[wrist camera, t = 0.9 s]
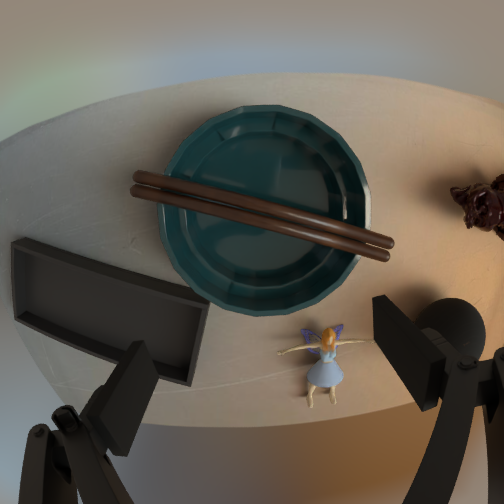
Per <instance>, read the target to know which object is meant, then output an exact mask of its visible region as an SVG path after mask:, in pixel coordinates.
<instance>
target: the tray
mask: <svg viewBox="0 0 504 504" xmlns="http://www.w3.org/2000/svg"><path fill="white" fill-rule="evenodd" d="M11 280H12V297H13V309H14V318H15V320H16V321H18V322H20V323H22V324H24V325H26V326H28V327H30V328H32V329H34V330H36V331H38V332H40V333H42V334H44V335H46V336H48V337H50V338H53V339H55V340H57V341H59V342H61V343H64V344H66V345H68V346H71V347H73V348H75V349H78V350H80V351H83V352H85V353H88V354H90V355H93V356H95V357H98V358H100V359H103V360H106V361H109V362H111V363H114V364H118V363H119V361H120V360H121V358H122V357H123V355H124V354H125V352H126V350H127V349H128V347H129V346H130V344H131V343H132V341H139V340H144V342H145V344H146V347H147V349H148V352H149V354H150V356H151V359H152V361H153V364H154V366H155V368H156V371H157V373H158V375H159V378H160V379H163V380H167V381H170V382H174V383H177V384H181V385H185V386H189V387H191V384H192V380H193V377H194V373H195V368H196V364H197V359H198V355H199V350H200V346H201V341H202V337H203V332H204V328H205V323H206V319H207V315H208V310H209V306H210V301H209V300H207V299H205V298H204V297H202V296H200V295H199V294H197V293H196V292H194V290H193V289H192V288H188V287H184V286H181V285H177V284H173V283H170V282H166V281H163V280H159V279H155V278H152V277H148V276H145V275H141V274H138V273H135V272H131V271H128V270H124V269H121V268H118V267H114V266H111V265H108V264H105V263H101V262H98V261H95V260H92V259H89V258H85V257H82V256H79V255H76V254H73V253H70V252H67V251H64V250H61V249H58V248H55V247H52V246H49V245H46V244H43V243H40V242H37V241H35V240H32V239H29V238H26V237H25V238H22V239H19V240H16V241H13V242H11Z"/></svg>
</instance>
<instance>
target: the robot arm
mask: <svg viewBox="0 0 504 504" xmlns="http://www.w3.org/2000/svg"><path fill="white" fill-rule="evenodd" d="M372 303H373V329H374V340H375V342H376V343H377V345H378V346H379V348H380V349H381V350H382V352H383V353H384V355H385V356H386V358H387V359H388V361H389V362H390V364H391V365H392V367H393V368H394V370H395V371H396V373H397V374H398V376H399V377H400V379H401V380H402V382H403V383H404V385H405V386H406V388H407V389H408V391H409V392H410V394H411V395H412V397H413V398H414V400H415V402H416V403H417V405H418V406H419V408H420V409H421V411H422V412H424V411H426V410H429V409H431V408H433V407H436V406H437V403H438V399H439V397H440V398H441V399H442V404H441V408H440V411H439V414H438V417H437V421H436V424H435V427H434V430H433V433H432V435H431V438H430V441H429V444H428V446H427V449H426V452H425V454H424V457H423V459H422V462H421V464H420V467H419V469H418V472H417V474H416V476H415V478H414V480H413V483H412V485H411V487H410V489H409V491H408V493H407V495H406V497H405V499H404V501H403V503H402V504H448V502H449V500H450V497H451V494H452V492H453V489H454V486H455V483H456V480H457V477H458V474H459V471H460V467H461V464H462V460H463V457H464V453H465V450H466V446H467V441H468V437H469V433H470V428H471V423H472V418H473V413H474V408H475V407H477V406H482V408H483V416H484V424H485V433H486V444H487V457H488V504H504V347H502V348H499V349H498V350H496V352H495V353H494V357H493V359H489V360H484V361H479V360H478V359H477V358H475V357H474V356H471V355H461V354H460V353H459V352H458V351H457V350H456V349H455V348H454V347H453V346H452V345H451V344H450V343H449V342H447V340H446V339H445V338H444V337H442V336H441V335H440V334H439V333H438V332H437V331H435V330H433V329H431V328H426V329H423V330H420V329H419V328H418V327H417V326H416V325H415V324H414V323H413V322H412V321H411V320H410V319H409V318H408V317H407V316H406V315H405V314H404V313H403V312H402V311H401V310H400V309H399V308H398V307H397V306H396V305H395V304H394V303H393V302H392V301H391V300H390V299H389V298H388V297H387V296H386V295H385V294H384V295H381V296H377V297H373V298H372ZM158 379H159V375H158V373H157V371H156V368H155V366H154V364H153V361H152V359H151V356H150V354H149V352H148V349H147V347H146V344H145V342H144V340H139V341H132V343H131V344H130V346H129V347H128V349H127V350H126V352H125V354H124V355H123V357H122V358H121V360H120V361H119V363H118V364H117V366H116V367H115V369H114V370H113V372H112V374H111V375H110V377H109V378H108V380H107V381H106V383H105V385H101V386H100V387H99V388H98V389H96V390H95V391H94V393H93V394H92V396H91V398H90V399H89V401H88V403H87V404H86V405H85V407H84V409H83V410H82V412H81V413H80V415H78V414H77V412H76V410H75V409H74V407H73V406H70V405H65V406H61V407H60V408H58V409H56V410H55V411H54V412H53V414H52V420H53V422H54V423H55V425H56V426H57V427H58V429H59V430H54V431H51V430H50V429H49V427H48V426H47V425H46V424H38V425H35V426H33V427H32V429H31V430H30V431H29V434H28V438H27V443H26V449H25V454H24V460H23V467H22V474H21V482H20V491H19V503H18V504H78V496H77V489H78V491H79V494H80V497H81V499H82V502H83V504H134V502H133V501H132V499H131V497H130V496H129V494H128V492H127V491H126V489H125V487H124V485H123V484H122V482H121V480H120V478H119V476H118V474H117V473H116V471H115V469H114V467H113V465H112V463H111V461H110V459H109V457H108V456H107V454H106V451H107V449H108V448H109V449H110V451H111V452H112V454H113V455H115V456H125V457H127V456H128V453H129V451H130V448H131V445H132V443H133V441H134V438H135V435H136V433H137V430H138V428H139V425H140V423H141V421H142V418H143V416H144V413H145V411H146V408H147V406H148V403H149V401H150V398H151V396H152V394H153V391H154V389H155V386H156V384H157V382H158Z"/></svg>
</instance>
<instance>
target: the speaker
mask: <svg viewBox="0 0 504 504" xmlns="http://www.w3.org/2000/svg"><path fill="white" fill-rule="evenodd" d="M414 324H415V325H416V326H417V327H418V328H419V329H420V330H423V329H426V328H431V329H433V330H435V331H437V332H438V333H439V334H440V335H441V336H442V337H444V338H445V339H446V340H447V342H449V343H450V344H451V345H452V346H453V347H454V348H455V349H456V350H457V351H458V352H459V353H460V354H461V355H471V356H474V357H475V358H477V359H478V360H479V358H480V356H481V354H482V352H483V349H484V345H485V338H486V332H485V326H484V322H483V319H482V317H481V315H480V313H479V312H478V311H477V309H476V308H475V307H474V306H472V305H471V304H470V303H468V302H466V301H464V300H462V299H458V298H445V299H441V300H438V301H436V302H434V303H432V304H431V305H429V306H428V307H427V308H425V309H424V310H423V311H422V313H421V314H420V315H419V316H418V318H417V320H416V321H415V323H414Z"/></svg>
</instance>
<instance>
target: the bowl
mask: <svg viewBox="0 0 504 504" xmlns="http://www.w3.org/2000/svg"><path fill="white" fill-rule="evenodd" d="M164 175H165V176H170V177H174V178H179V179H183V180H188V181H192V182H196V183H201V184H205V185H209V186H213V187H217V188H221V189H225V190H229V191H233V192H237V193H241V194H245V195H249V196H253V197H257V198H260V199H264V200H268V201H271V202H275V203H279V204H282V205H286V206H290V207H293V208H297V209H300V210H304V211H307V212H311V213H314V214H318V215H321V216H324V217H328V218H331V219H334V220H338V221H341V222H344V223H348V224H351V225H354V226H357V227H360V228H364V229H367V230H370V228H371V193H370V190H369V187H368V183H367V180H366V177H365V174H364V171H363V168H362V165H361V163H360V161H359V159H358V158H357V156H356V155H355V154H354V152H353V151H352V150H351V148H350V147H349V145H348V144H347V143H346V141H345V140H344V139H343V137H342V136H341V135H340V134H339V133H337V132H336V131H335V130H333V129H332V128H330V127H329V126H328V125H326V124H325V123H323V122H322V121H320V120H319V119H318V118H316V117H315V116H313V115H311V114H309V113H305V112H302V111H299V110H295V109H292V108H288V107H285V106H281V105H253V106H243V107H242V106H241V107H239V108H236V109H233V110H231V111H228V112H225V113H223V114H220V115H218V116H215V117H213V118H210V119H209V120H207V121H206V122H205V123H204V124H203V125H201V126H200V127H199V128H198V129H196V130H195V131H194V132H193V133H192V134H191V135H189V136H188V137H187V138H186V139H185V140H184V141H183V142H182V143H181V145H180V146H179V148H178V149H177V151H176V153H175V154H174V156H173V158H172V159H171V161H170V163H169V164H168V166H167V168H166V169H165V172H164ZM160 189H161V190H165V191H170V190H166V189H162V188H160ZM170 192H174V193H178V194H182V195H187V194H183V193H179V192H175V191H170ZM187 196H191V197H195V198H199V199H203V200H207V201H211V202H215V203H219V204H223V205H227V206H231V207H235V208H239V209H243V210H247V211H251V212H255V211H252V210H248V209H244V208H240V207H236V206H232V205H228V204H224V203H220V202H216V201H212V200H208V199H204V198H200V197H196V196H192V195H187ZM157 211H158V221H159V230H160V238H161V241H162V243H163V245H164V247H165V250H166V252H167V254H168V256H169V259H170V261H171V263H172V265H173V267H174V269H175V270H176V271H177V273H178V274H179V275H180V276H181V277H182V278H183V279H184V280H185V282H186V283H187V284H188V285H189V286H190V287H191V288H192V289H193V290H194V292H196V293H197V294H199V295H200V296H202V297H204V298H205V299H207V300H209V301H210V302H212V303H214V304H215V305H217V306H219V307H221V308H222V309H225V310H229V311H233V312H237V313H241V314H245V315H250V316H255V317H259V316H276V315H286V314H287V315H288V314H290V313H293V312H296V311H299V310H301V309H304V308H307V307H309V306H312V305H315V304H316V303H318V302H320V301H321V300H322V299H324V298H325V297H326V296H328V295H329V294H330V293H332V292H333V291H334V290H335V289H337V288H338V287H339V286H341V285H342V284H343V282H344V281H345V279H346V278H347V277H348V275H349V274H350V273H351V271H352V270H353V268H354V267H355V265H356V264H357V263H358V261H359V260H360V258H361V256H360V255H357V254H353V253H350V252H346V251H342V250H339V249H335V248H332V247H328V246H325V245H321V244H317V243H314V242H310V241H306V240H303V239H299V238H295V237H291V236H288V235H284V234H280V233H277V232H273V231H269V230H265V229H261V228H258V227H254V226H250V225H246V224H242V223H238V222H234V221H230V220H227V219H223V218H219V217H215V216H211V215H207V214H203V213H199V212H195V211H191V210H186V209H182V208H178V207H174V206H170V205H166V204H162V203H158V202H157ZM255 213H258V214H262V215H266V216H270V217H273V218H277V219H281V220H285V219H282V218H278V217H274V216H271V215H267V214H263V213H259V212H255ZM285 221H288V222H292V223H295V224H299V225H303V224H300V223H296V222H293V221H289V220H285ZM303 226H306V227H310V228H313V229H317V230H320V231H324V232H327V233H331V232H328V231H325V230H321V229H318V228H314V227H311V226H307V225H303ZM331 234H334V235H338V234H335V233H331ZM338 236H341V237H345V236H342V235H338ZM345 238H348V239H351V240H355V239H352V238H349V237H345ZM355 241H358V242H361V243H365V242H362V241H359V240H355ZM365 244H366V243H365Z"/></svg>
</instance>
